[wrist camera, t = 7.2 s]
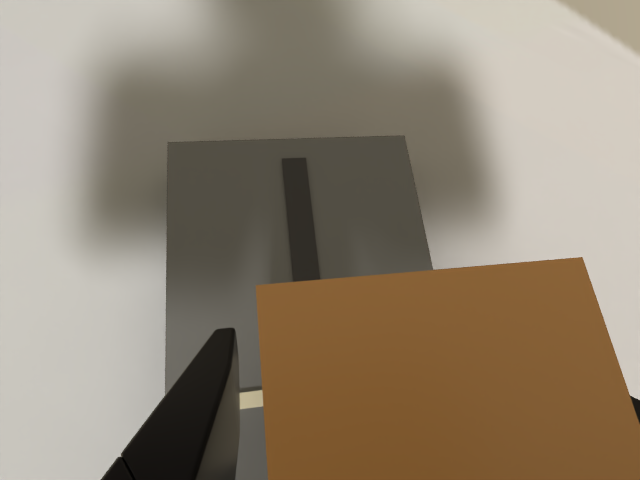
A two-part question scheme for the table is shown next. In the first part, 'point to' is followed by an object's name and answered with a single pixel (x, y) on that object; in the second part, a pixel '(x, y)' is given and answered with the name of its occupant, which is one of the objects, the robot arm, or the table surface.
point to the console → (277, 241)
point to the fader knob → (444, 377)
